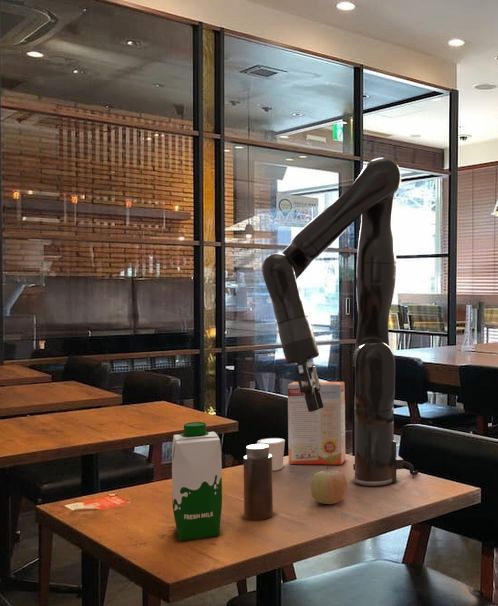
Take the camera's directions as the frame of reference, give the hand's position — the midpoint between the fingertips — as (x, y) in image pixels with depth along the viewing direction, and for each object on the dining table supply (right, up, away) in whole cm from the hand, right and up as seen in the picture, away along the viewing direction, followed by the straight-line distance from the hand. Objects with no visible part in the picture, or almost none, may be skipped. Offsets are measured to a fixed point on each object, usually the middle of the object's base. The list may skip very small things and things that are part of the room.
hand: (316, 409), depth 157 cm
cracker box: (-4, -18, +26) cm, 32 cm away
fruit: (+4, -19, -8) cm, 21 cm away
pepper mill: (-9, -19, -16) cm, 27 cm away
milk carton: (-19, -19, -26) cm, 37 cm away
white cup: (-15, -18, +21) cm, 31 cm away
